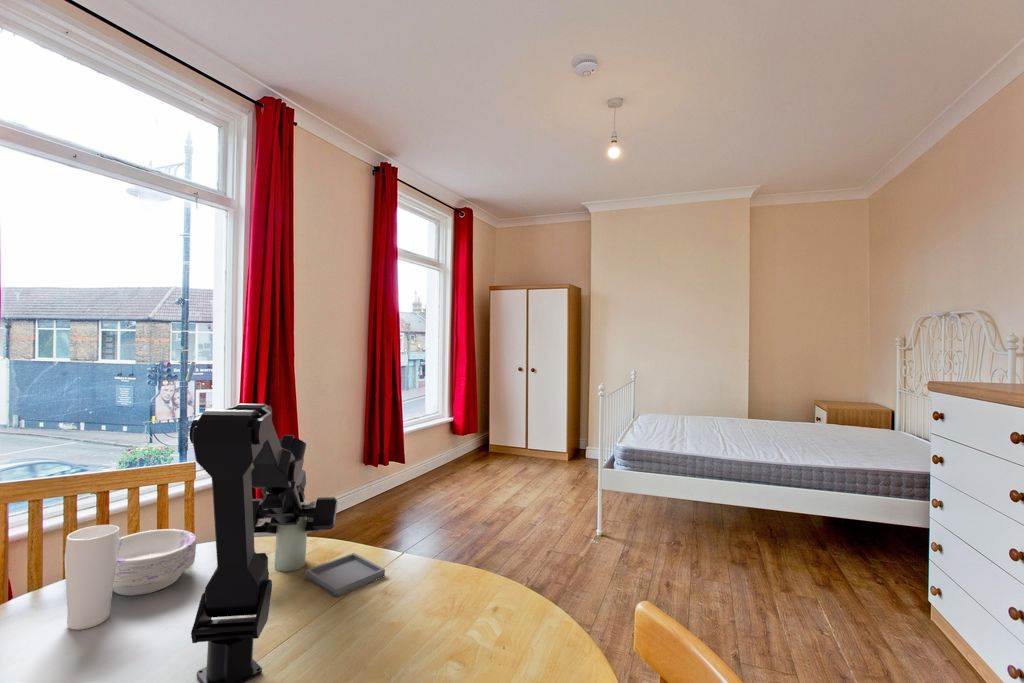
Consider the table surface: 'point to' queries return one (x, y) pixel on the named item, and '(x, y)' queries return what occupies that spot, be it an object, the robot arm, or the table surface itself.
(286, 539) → the domed cap cylinder
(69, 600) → the white vase
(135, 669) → the table surface
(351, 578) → the tray
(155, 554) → the paper bowls
